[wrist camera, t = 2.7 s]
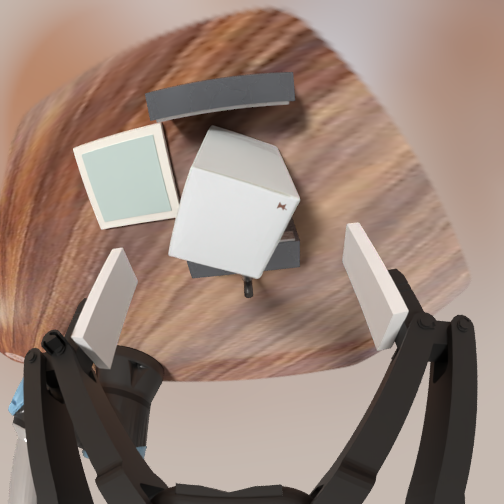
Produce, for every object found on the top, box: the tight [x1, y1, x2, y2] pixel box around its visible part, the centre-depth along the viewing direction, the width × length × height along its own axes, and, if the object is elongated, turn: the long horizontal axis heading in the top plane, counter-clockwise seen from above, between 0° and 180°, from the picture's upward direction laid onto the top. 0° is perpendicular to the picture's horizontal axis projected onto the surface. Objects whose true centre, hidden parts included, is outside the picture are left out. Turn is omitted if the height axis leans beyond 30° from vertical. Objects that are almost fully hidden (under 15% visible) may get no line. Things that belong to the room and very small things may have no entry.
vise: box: [145, 72, 300, 298], centre depth 28 cm, size 12×24×5 cm, turn 6°
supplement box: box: [168, 125, 300, 279], centre depth 23 cm, size 7×7×13 cm
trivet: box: [73, 122, 180, 230], centre depth 28 cm, size 11×11×1 cm
